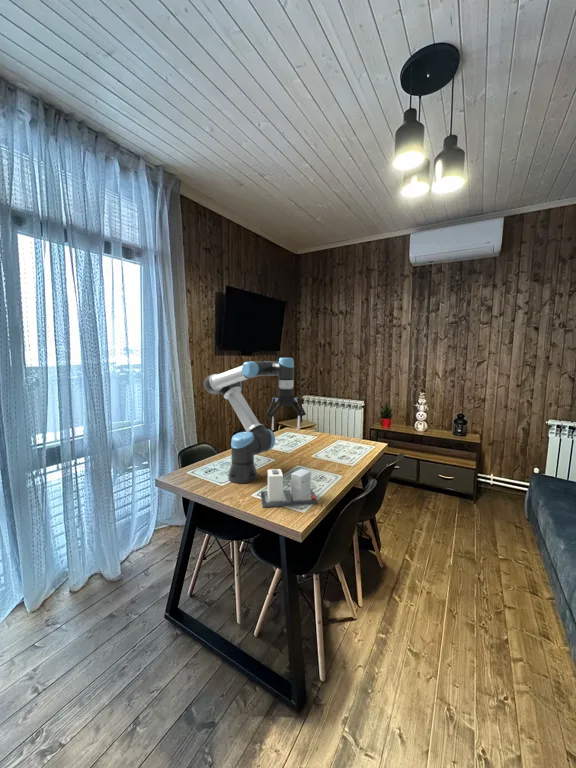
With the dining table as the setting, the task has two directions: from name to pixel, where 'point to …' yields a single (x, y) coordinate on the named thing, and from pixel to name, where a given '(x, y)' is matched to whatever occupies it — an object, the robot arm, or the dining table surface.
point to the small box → (300, 483)
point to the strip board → (287, 499)
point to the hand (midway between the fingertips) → (285, 429)
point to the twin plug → (275, 484)
